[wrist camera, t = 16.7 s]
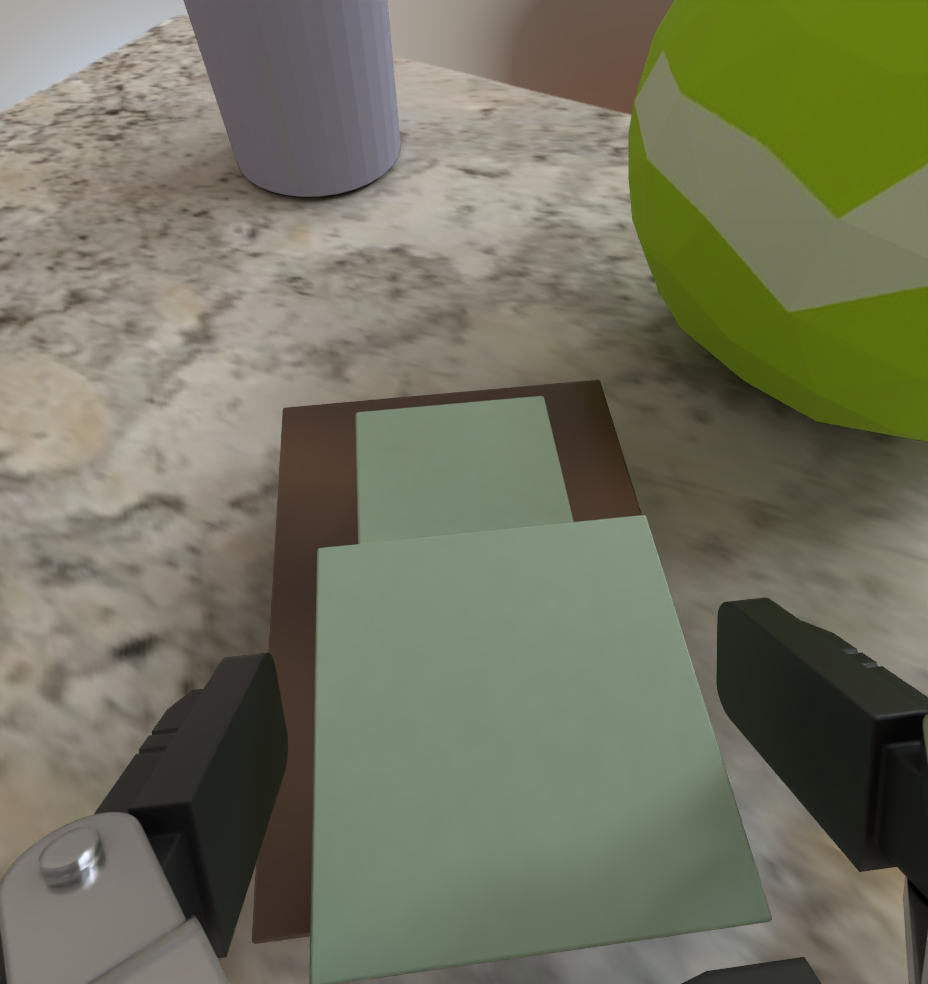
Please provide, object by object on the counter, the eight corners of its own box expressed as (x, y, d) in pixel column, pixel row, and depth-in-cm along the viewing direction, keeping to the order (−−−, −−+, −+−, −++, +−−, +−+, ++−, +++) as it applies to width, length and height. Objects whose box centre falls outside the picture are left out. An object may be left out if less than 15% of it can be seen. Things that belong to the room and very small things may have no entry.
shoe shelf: (307, 467, 25) (282, 407, 22) (582, 440, 26) (600, 378, 23) (293, 927, 17) (250, 945, 14) (699, 870, 18) (754, 874, 14)
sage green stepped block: (621, 886, 14) (783, 920, 7) (386, 919, 14) (298, 990, 7) (534, 471, 20) (571, 259, 13) (370, 486, 20) (317, 279, 13)
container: (208, 150, 38) (79, -205, 25) (340, 96, 42) (284, -239, 29) (296, 224, 34) (195, -154, 21) (434, 157, 38) (418, -201, 25)
